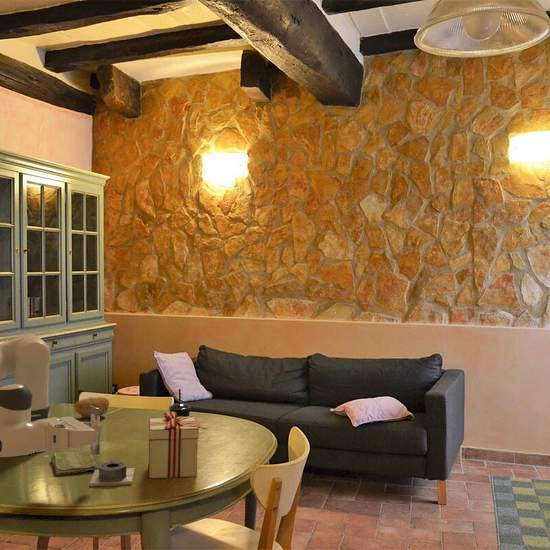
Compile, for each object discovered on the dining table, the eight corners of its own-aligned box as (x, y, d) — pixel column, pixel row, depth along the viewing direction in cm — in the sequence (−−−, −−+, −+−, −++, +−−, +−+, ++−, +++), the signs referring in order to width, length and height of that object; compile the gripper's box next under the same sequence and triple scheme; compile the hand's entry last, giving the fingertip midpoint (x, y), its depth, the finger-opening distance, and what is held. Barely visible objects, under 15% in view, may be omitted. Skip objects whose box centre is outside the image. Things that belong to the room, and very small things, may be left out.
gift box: (210, 475, 200) (210, 419, 200) (149, 481, 195) (149, 424, 194) (201, 458, 216) (201, 407, 216) (144, 463, 211) (144, 410, 211)
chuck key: (104, 455, 190) (104, 409, 190) (95, 457, 189) (95, 410, 188) (94, 450, 196) (94, 404, 196) (86, 451, 194) (86, 405, 194)
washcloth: (55, 478, 198) (55, 468, 198) (50, 461, 214) (49, 451, 214) (99, 472, 204) (99, 462, 204) (91, 456, 220) (91, 447, 220)
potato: (73, 416, 272) (72, 397, 272) (107, 413, 278) (107, 394, 278) (75, 421, 264) (75, 402, 263) (111, 418, 269) (111, 399, 269)
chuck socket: (89, 486, 190) (89, 472, 190) (95, 472, 202) (94, 460, 202) (131, 484, 192) (131, 471, 192) (134, 471, 204) (134, 458, 204)
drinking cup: (194, 443, 233) (194, 387, 233) (183, 449, 226) (183, 392, 226) (176, 441, 237) (176, 386, 236) (164, 446, 230) (164, 390, 229)
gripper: (39, 436, 193) (84, 429, 201) (64, 453, 176) (112, 444, 185) (39, 415, 192) (84, 408, 201) (64, 430, 176) (112, 422, 185)
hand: (98, 426), depth 193 cm, fingers closed on chuck key, 3 cm apart
